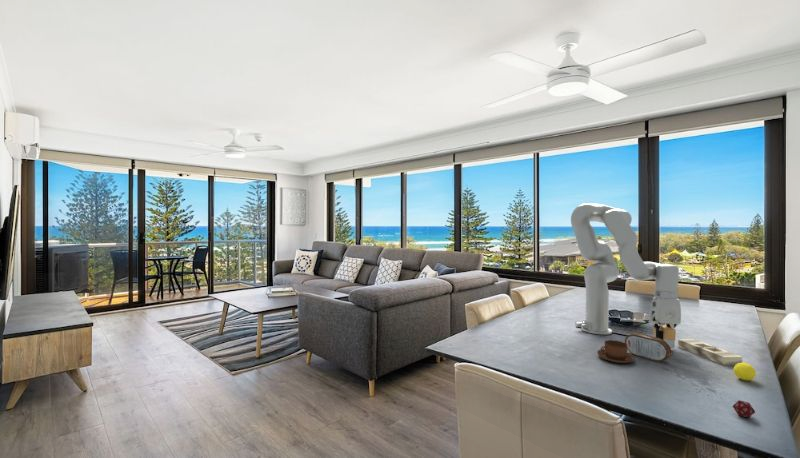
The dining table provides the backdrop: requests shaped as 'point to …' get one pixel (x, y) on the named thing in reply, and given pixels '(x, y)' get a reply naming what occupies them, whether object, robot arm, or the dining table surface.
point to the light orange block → (667, 335)
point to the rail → (709, 352)
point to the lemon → (744, 371)
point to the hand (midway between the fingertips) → (663, 339)
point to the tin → (648, 347)
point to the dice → (743, 409)
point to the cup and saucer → (615, 352)
